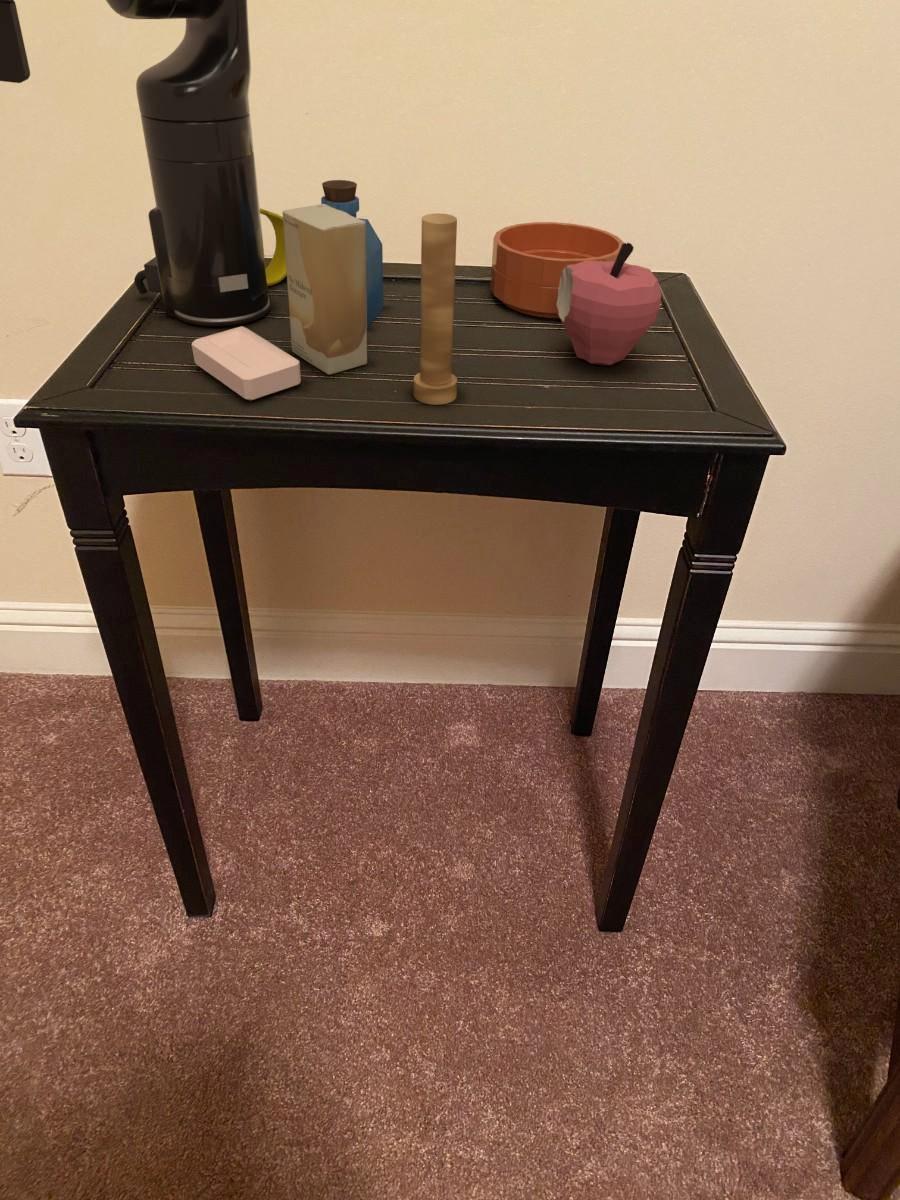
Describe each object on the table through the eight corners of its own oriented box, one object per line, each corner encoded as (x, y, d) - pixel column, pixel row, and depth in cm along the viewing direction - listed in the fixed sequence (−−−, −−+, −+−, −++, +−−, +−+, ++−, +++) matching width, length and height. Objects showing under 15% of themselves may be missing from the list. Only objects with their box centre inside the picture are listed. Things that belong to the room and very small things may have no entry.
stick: (409, 402, 70) (410, 222, 61) (418, 384, 73) (419, 209, 64) (452, 407, 70) (459, 226, 61) (459, 388, 72) (467, 213, 64)
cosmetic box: (290, 353, 77) (277, 208, 69) (330, 342, 79) (322, 201, 72) (330, 377, 73) (321, 227, 66) (371, 365, 75) (367, 219, 68)
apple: (548, 338, 82) (560, 228, 76) (638, 341, 82) (657, 232, 76) (556, 380, 74) (570, 262, 68) (655, 384, 74) (678, 266, 68)
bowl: (482, 315, 86) (486, 253, 82) (498, 274, 96) (502, 217, 92) (614, 327, 85) (624, 265, 81) (615, 284, 95) (624, 227, 91)
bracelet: (269, 286, 94) (287, 293, 92) (207, 268, 88) (225, 276, 86) (285, 218, 92) (304, 224, 90) (223, 194, 86) (242, 200, 84)
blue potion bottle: (366, 329, 82) (362, 195, 74) (305, 322, 83) (295, 189, 75) (383, 307, 87) (381, 179, 79) (324, 301, 88) (317, 173, 80)
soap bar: (248, 405, 69) (244, 377, 67) (192, 365, 74) (188, 338, 72) (304, 386, 72) (302, 358, 70) (246, 348, 77) (243, 322, 75)
